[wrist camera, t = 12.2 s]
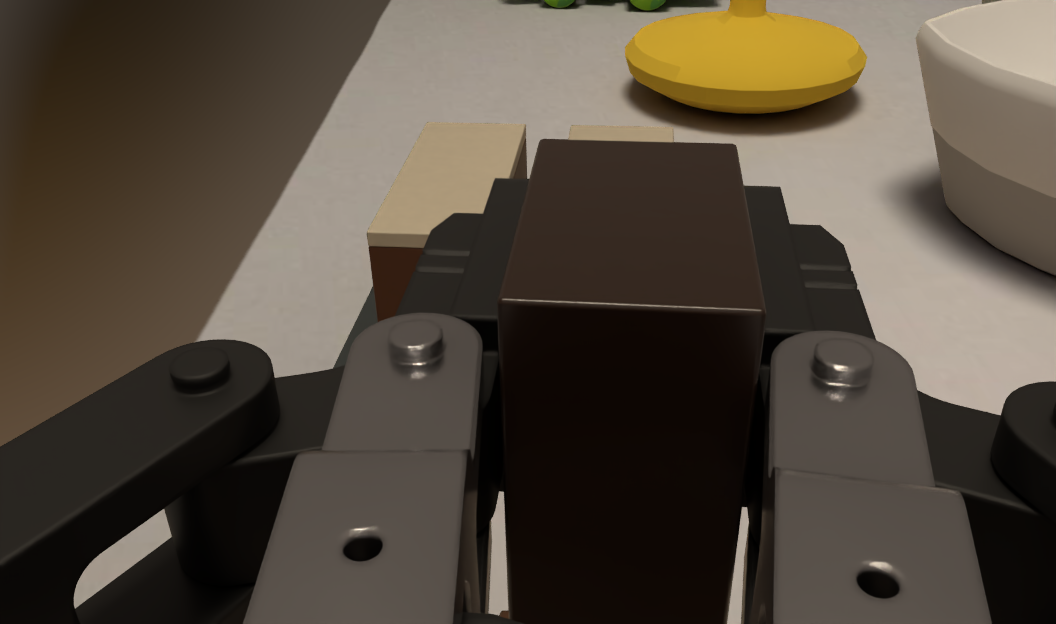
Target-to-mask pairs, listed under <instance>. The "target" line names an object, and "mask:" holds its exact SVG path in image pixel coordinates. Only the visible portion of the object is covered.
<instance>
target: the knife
mask: <svg viewBox="0 0 1056 624" xmlns="http://www.w3.org/2000/svg"><path fill="white" fill-rule="evenodd" d="M766 316H767V313H766V307H765V302H764V296H763V290H762V285H761V279H760V274H759V268H758V263H757V257H756V252H755V246H754V240H753V235H752V229H751V224H750V218H749V213H748V207H747V202H746V196H745V190H744V185H743V179H742V174H741V168H740V163H739V157H738V152H737V147H736V145H734V144H720V143H681V142H642V141H604V140H565V139H542V140H540V142H539V145H538V148H537V152H536V156H535V160H534V164H533V167H532V171H531V175H530V179H529V183H528V186H527V190H526V194H525V198H524V201H523V205H522V209H521V213H520V217H519V220H518V224H517V228H516V232H515V235H514V239H513V243H512V247H511V251H510V254H509V258H508V262H507V266H506V270H505V273H504V277H503V281H502V285H501V288H500V292H499V296H498V300H497V319H498V346H499V372H500V399H501V425H502V451H503V478H504V504H505V530H506V557H507V583H508V610H509V619H511V620H514V621H517V622H521V623H524V624H727V619H728V611H729V604H730V596H731V588H732V580H733V573H734V565H735V557H736V549H737V541H738V534H739V526H740V518H741V510H742V502H743V495H744V487H745V479H746V471H747V464H748V456H749V448H750V440H751V432H752V425H753V417H754V409H755V401H756V393H757V386H758V378H759V370H760V362H761V354H762V347H763V339H764V331H765V323H766Z"/></svg>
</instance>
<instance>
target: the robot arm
mask: <svg viewBox="0 0 1056 624" xmlns="http://www.w3.org/2000/svg"><path fill="white" fill-rule="evenodd" d="M528 183H529V179H513V178H495V179H494V182H493V185H492V188H491V191H490V194H489V197H488V200H487V203H486V206H485V209H484V212H483V214H480V213H453V214H452V215H451V216H449V217H448V218H447V219H445V220H444V221H443V222H441V223H440V224H439V225H437V226H436V227H435V228H433V229H432V230H431V232H430V234H429V236H428V239H427V241H426V243H425V246H424V248H423V250H422V251H423V253H422V255H420V258H419V260H418V262H417V265H416V267H415V272H413V274H412V276H411V279H410V281H409V283H408V286H407V288H406V291H405V293H404V295H403V298H402V300H401V302H400V305H399V307H398V309H397V312H396V314H395V316H394V317H390V318H387V319H385V320H382V321H379V322H377V323H375V324H373V325H371V326H370V327H368V328H367V329H365V330H364V331H362V332H361V333H360V334H359V335H358V336H357V337H356V339H355V340H354V341H353V343H352V345H351V348H350V351H349V355H348V358H347V362H346V365H343V366H340V367H337V368H333V369H329V370H324V371H319V372H313V373H306V374H300V375H293V376H286V377H279V378H275V377H274V372H273V367H272V363H271V359H270V358H269V356H268V355H267V354H266V353H265V352H264V351H263V350H262V349H260V348H258V347H257V346H255V345H252V344H249V343H246V342H242V341H236V340H207V341H200V342H195V343H190V344H186V345H183V346H180V347H177V348H174V349H172V350H169V351H167V352H165V353H163V354H161V355H159V356H157V357H155V358H154V359H152V360H150V361H148V362H147V363H145V364H143V365H141V366H140V367H138V368H136V369H135V370H133V371H131V372H129V373H128V374H126V375H124V376H123V377H121V378H119V379H117V380H115V381H114V382H112V383H110V384H108V385H107V386H105V387H103V388H102V389H100V390H98V391H96V392H95V393H93V394H91V395H89V396H88V397H86V398H84V399H82V400H81V401H79V402H77V403H75V404H74V405H72V406H70V407H69V408H67V409H65V410H64V411H62V412H60V413H58V414H56V415H55V416H53V417H51V418H50V419H48V420H46V421H44V422H42V423H41V424H39V425H37V426H36V427H34V428H32V429H30V430H29V431H27V432H25V433H24V434H22V435H20V436H18V437H17V438H15V439H13V440H12V441H10V442H8V443H6V444H4V445H3V446H1V447H0V624H524V623H521V622H517V621H514V620H511V619H507V618H504V617H501V616H497V615H494V614H488V611H489V590H490V569H491V547H492V534H491V518H492V517H493V515H494V512H495V509H496V504H497V498H498V493H499V491H503V492H504V478H503V451H502V425H501V399H500V372H499V346H498V319H497V300H498V296H499V292H500V288H501V285H502V281H503V277H504V273H505V270H506V266H507V262H508V258H509V254H510V251H511V247H512V243H513V239H514V235H515V232H516V228H517V224H518V220H519V217H520V213H521V209H522V205H523V201H524V198H525V194H526V190H527V186H528ZM744 190H745V196H746V202H747V207H748V213H749V218H750V224H751V229H752V235H753V240H754V246H755V252H756V257H757V263H758V268H759V274H760V279H761V285H762V290H763V296H764V302H765V307H766V313H767V316H766V323H765V331H764V339H763V347H762V354H761V362H760V370H759V378H758V386H757V393H756V401H755V409H754V417H753V425H752V432H751V440H750V448H749V456H748V464H747V471H746V479H745V487H744V495H743V502H742V507H747V509H748V518H749V526H748V533H747V541H746V548H745V555H744V572H743V593H742V615H741V624H1056V382H1038V383H1033V384H1029V385H1025V386H1023V387H1020V388H1018V389H1016V390H1015V391H1013V392H1012V393H1011V394H1010V395H1009V396H1008V397H1007V399H1006V401H1005V403H1004V406H1003V409H1002V413H1001V416H1000V415H996V414H992V413H988V412H984V411H979V410H975V409H971V408H967V407H963V406H959V405H955V404H951V403H948V402H944V401H941V400H939V399H936V398H933V397H931V396H928V395H926V394H924V393H922V392H920V391H918V390H917V388H916V382H915V377H914V374H913V371H912V368H911V367H910V365H909V364H908V362H907V361H906V360H905V359H904V358H903V357H902V356H901V355H900V354H899V353H897V352H896V351H895V350H893V349H892V348H890V347H888V346H886V345H885V344H883V343H881V342H878V341H876V338H875V335H874V333H873V330H872V327H871V324H870V321H869V318H868V315H867V312H866V309H865V306H864V303H863V300H862V297H861V294H860V292H859V290H857V283H856V280H855V277H854V274H853V271H851V265H850V262H849V259H848V256H847V253H846V251H845V248H844V245H843V244H842V243H841V242H839V241H838V240H837V239H836V238H835V237H834V236H832V235H831V234H830V233H829V232H828V231H826V230H825V229H824V228H823V227H822V226H820V225H797V224H790V223H789V219H788V216H787V212H786V208H785V204H784V200H783V196H782V192H781V188H780V187H771V186H744ZM162 509H165V513H166V517H167V520H168V524H169V528H170V531H171V535H172V537H171V538H170V539H169V540H167V541H166V542H165V543H163V544H162V545H161V546H159V547H158V548H156V549H155V550H154V551H152V552H151V553H150V554H148V555H147V556H146V557H144V558H143V559H142V560H140V561H139V562H138V563H136V564H135V565H134V566H132V567H131V568H129V569H128V570H127V571H125V572H124V573H123V574H121V575H120V576H119V577H117V578H116V579H115V580H113V581H112V582H111V583H109V584H108V585H107V586H105V587H104V588H102V589H101V590H100V591H98V592H97V593H96V594H94V595H93V596H92V597H90V598H89V599H88V600H86V601H85V602H84V603H82V604H81V605H80V606H78V607H77V608H76V609H75V608H74V592H75V588H76V585H77V582H78V580H79V578H80V576H81V575H82V573H83V571H84V570H85V569H86V567H87V566H88V565H89V564H90V563H91V562H92V561H93V560H94V558H96V557H97V556H98V555H99V554H101V553H102V552H103V551H105V550H106V549H107V548H109V547H110V546H112V545H113V544H115V543H116V542H117V541H119V540H120V539H122V538H123V537H124V536H126V535H127V534H129V533H130V532H131V531H133V530H134V529H136V528H137V527H138V526H140V525H141V524H143V523H144V522H145V521H147V520H148V519H150V518H151V517H152V516H154V515H155V514H157V513H158V512H160V511H161V510H162Z"/></svg>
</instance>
